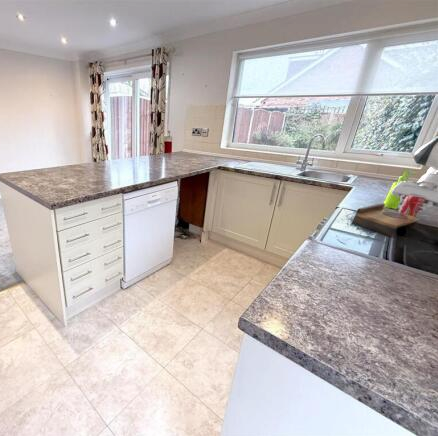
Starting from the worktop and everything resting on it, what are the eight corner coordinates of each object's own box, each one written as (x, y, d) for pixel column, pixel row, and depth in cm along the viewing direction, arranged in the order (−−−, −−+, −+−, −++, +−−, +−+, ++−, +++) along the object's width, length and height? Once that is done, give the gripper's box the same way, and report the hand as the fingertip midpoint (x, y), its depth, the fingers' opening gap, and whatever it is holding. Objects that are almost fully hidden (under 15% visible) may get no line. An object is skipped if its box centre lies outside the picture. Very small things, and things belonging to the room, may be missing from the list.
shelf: (413, 228, 108) (421, 214, 106) (390, 236, 99) (398, 221, 96) (376, 216, 120) (382, 203, 117) (351, 222, 110) (358, 208, 108)
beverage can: (394, 215, 123) (405, 192, 118) (410, 218, 120) (423, 195, 115) (397, 219, 118) (410, 195, 113) (415, 222, 115) (428, 198, 110)
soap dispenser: (397, 210, 130) (416, 173, 122) (381, 206, 135) (398, 170, 127) (400, 208, 133) (419, 172, 125) (384, 204, 138) (401, 169, 130)
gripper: (401, 175, 123) (383, 195, 122) (462, 187, 106) (441, 210, 106) (401, 183, 126) (383, 203, 126) (459, 195, 110) (439, 218, 110)
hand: (410, 206), depth 116 cm, fingers closed on beverage can, 6 cm apart
